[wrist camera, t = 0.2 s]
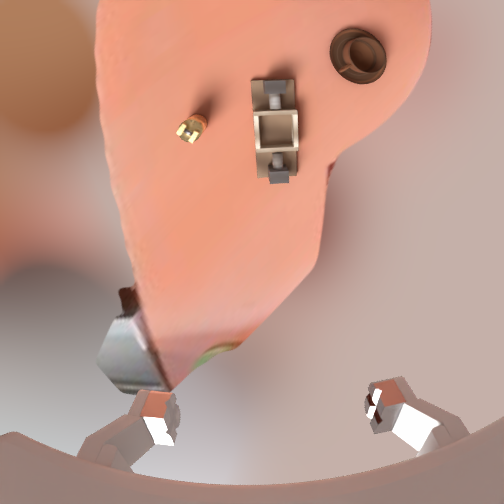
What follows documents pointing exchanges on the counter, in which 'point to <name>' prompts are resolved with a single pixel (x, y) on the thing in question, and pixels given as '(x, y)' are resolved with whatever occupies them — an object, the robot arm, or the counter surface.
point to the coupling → (192, 128)
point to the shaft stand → (275, 129)
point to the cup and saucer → (358, 56)
